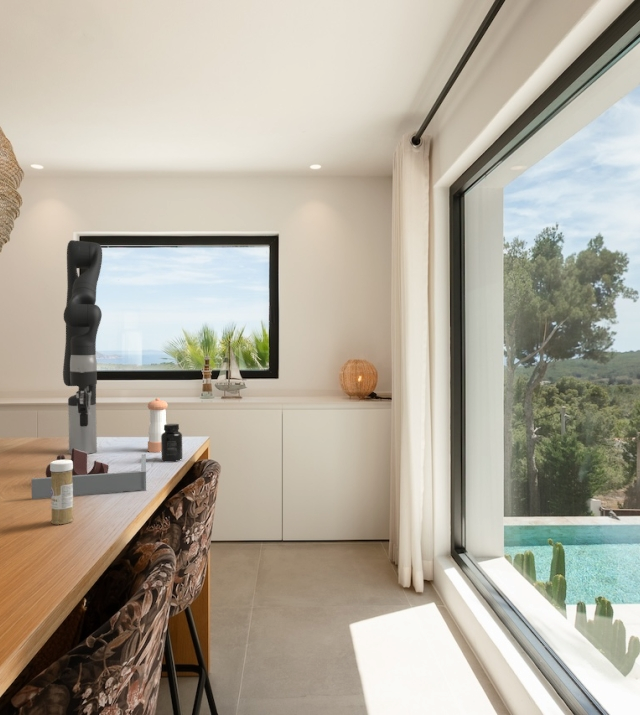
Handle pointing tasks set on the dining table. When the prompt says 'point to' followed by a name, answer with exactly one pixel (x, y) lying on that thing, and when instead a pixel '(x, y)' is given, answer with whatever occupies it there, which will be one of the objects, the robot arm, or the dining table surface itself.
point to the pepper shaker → (156, 424)
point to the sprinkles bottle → (61, 491)
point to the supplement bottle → (171, 443)
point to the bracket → (81, 464)
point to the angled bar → (96, 483)
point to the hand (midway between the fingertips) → (84, 426)
